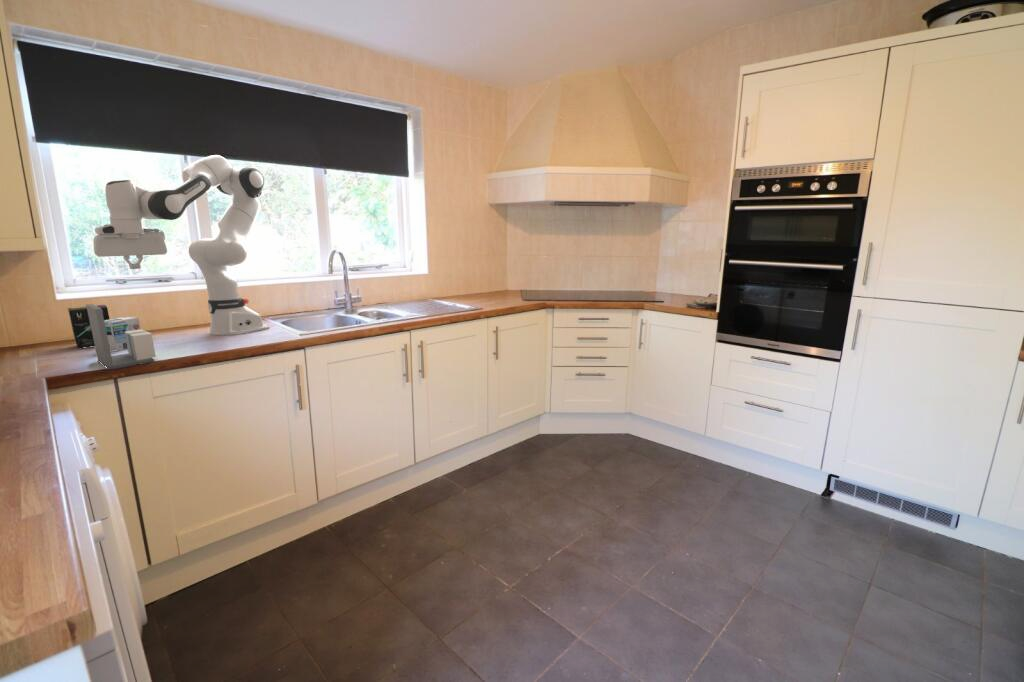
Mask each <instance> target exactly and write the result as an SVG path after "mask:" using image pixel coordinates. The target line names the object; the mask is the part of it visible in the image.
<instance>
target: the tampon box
mask: <svg viewBox="0 0 1024 682" xmlns="http://www.w3.org/2000/svg"><path fill="white" fill-rule="evenodd" d="M94 305H95V304H94ZM95 306H97V307H99V308H101V309H102V313H103V318H104V320H109V319H110V314H109V309H108V307H107V305H106V304H99V305H95ZM67 310H68V314H69V319H70V325H71V329H72V333H73V336H74V337H73V338H74V341H75V344H76V347H77V349H78V348H83V347H90V346H95V344H94V339H93V335H92V330H91V325H90V320H89V316H88V311H87V306H77V307H68V308H67ZM90 348H91V347H90ZM83 349H84V348H83Z"/></svg>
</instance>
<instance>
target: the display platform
mask: <svg viewBox="0 0 1024 682" xmlns="http://www.w3.org/2000/svg"><path fill="white" fill-rule="evenodd" d="M85 305H86V306H87V311H88V316H89V320H90V325H91V330H92V335H93V339H94V344H95V347H94V348H95V352H96V358H97V362H99V361H100V362H101V363H102V364H103V365H104V366H106V367H107V369H106V370H113V369H114V370H116V369H120V368H121V369H122V368H126V367H131V366H132V367H133V366H137V365H136V364H139V365H142V364H141V363H144V364H149V362H150V363H154V362H155V358H148V359H142V360H136V359H135V358H133V357H132V356H131V355H129V352H128V353H123V354H116V355H112V352H111V351H110V347H109V342H108V337H107V332H106V327H105V323H104V318H103V313H102V309H101V308H99V307H97V306H95V304H93V303H89V304H85ZM100 362H99V363H100ZM101 363H100V364H101ZM102 364H101V365H102ZM103 365H102V366H103ZM104 366H103V367H104Z"/></svg>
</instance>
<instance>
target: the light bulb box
mask: <svg viewBox="0 0 1024 682" xmlns="http://www.w3.org/2000/svg"><path fill="white" fill-rule="evenodd" d="M104 323H105V327H106V332H107V337H108V342H109V347H110V350H118V351H122V350H121V349H123V350H126V349H125V348H127V349H128V347H127V342H126V337H125V332H124V331H132V330H140V329H141V326H140V319H139V317H138V316H134V317H133V316H122V317H117V318H109V320H104Z"/></svg>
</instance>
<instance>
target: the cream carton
mask: <svg viewBox="0 0 1024 682" xmlns="http://www.w3.org/2000/svg"><path fill="white" fill-rule="evenodd" d="M124 332H125V337H126V342H127V347H128V348H127V351H128V353H129V355H131V356H132V357H133V358H135V359H136V360H142V359H148V358H153V359H155V358H157V356H156V350H155V345H154V340H153V333H151V332H149V331H147V330H145V329H143V328H140V330H132V331H124Z"/></svg>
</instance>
